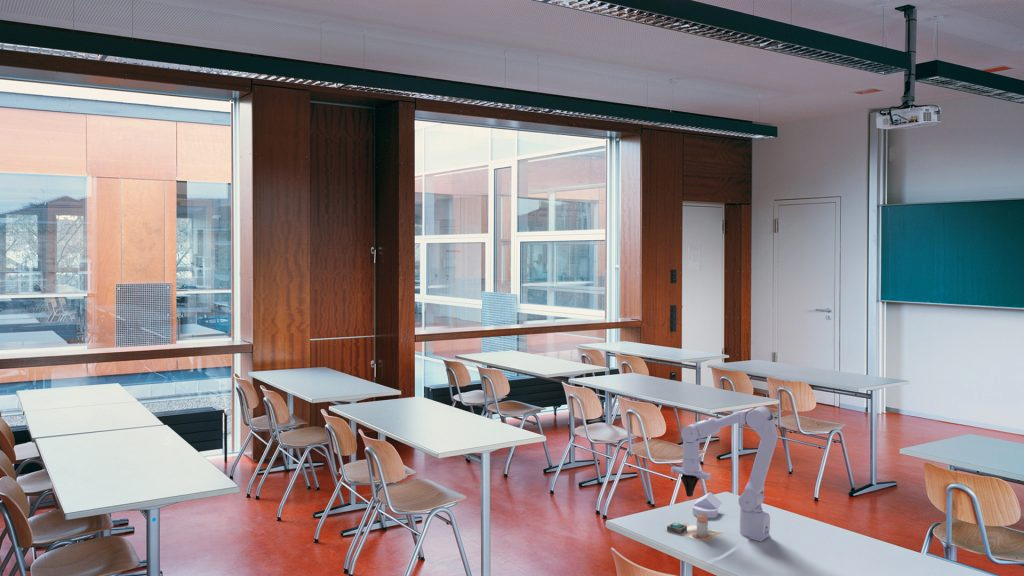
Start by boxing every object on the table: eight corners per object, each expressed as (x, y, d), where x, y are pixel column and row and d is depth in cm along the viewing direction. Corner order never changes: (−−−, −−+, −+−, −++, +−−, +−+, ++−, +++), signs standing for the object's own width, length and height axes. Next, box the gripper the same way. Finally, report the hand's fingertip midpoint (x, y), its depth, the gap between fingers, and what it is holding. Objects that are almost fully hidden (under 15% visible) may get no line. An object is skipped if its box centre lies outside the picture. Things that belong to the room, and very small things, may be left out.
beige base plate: (727, 534, 273) (727, 528, 272) (709, 546, 262) (710, 539, 262) (679, 522, 284) (679, 516, 284) (660, 532, 273) (661, 526, 273)
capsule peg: (709, 536, 269) (709, 515, 268) (704, 538, 266) (705, 518, 266) (698, 533, 271) (699, 513, 271) (694, 536, 268) (695, 515, 268)
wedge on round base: (697, 507, 301) (689, 517, 290) (698, 490, 301) (690, 499, 289) (721, 511, 297) (714, 521, 286) (722, 493, 297) (715, 503, 285)
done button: (682, 529, 274) (683, 524, 274) (678, 532, 271) (679, 526, 271) (675, 527, 276) (675, 522, 276) (670, 529, 273) (671, 524, 273)
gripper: (667, 456, 285) (666, 494, 286) (704, 464, 276) (703, 502, 277) (676, 453, 291) (675, 489, 291) (713, 460, 282) (712, 498, 282)
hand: (689, 495), depth 284 cm, fingers closed
